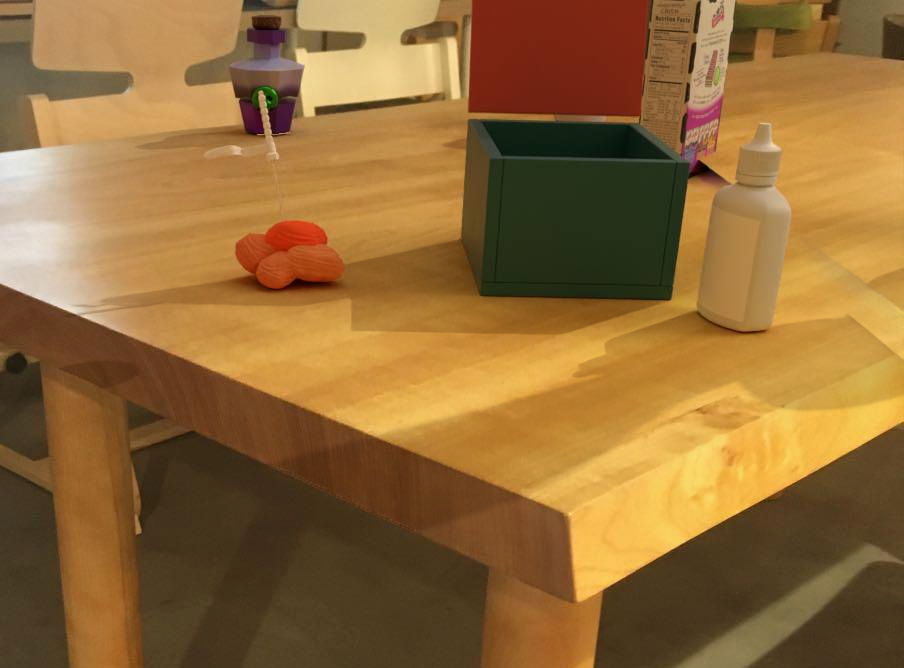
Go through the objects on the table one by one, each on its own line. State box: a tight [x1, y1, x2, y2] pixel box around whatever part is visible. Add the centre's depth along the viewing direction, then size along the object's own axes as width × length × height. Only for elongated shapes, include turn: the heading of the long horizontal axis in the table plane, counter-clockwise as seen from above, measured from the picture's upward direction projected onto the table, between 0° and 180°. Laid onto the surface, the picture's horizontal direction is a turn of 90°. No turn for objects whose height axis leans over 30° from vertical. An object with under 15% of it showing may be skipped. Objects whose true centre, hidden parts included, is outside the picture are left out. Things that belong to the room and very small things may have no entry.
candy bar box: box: [638, 0, 737, 178], centre depth 119 cm, size 11×5×16 cm, turn 148°
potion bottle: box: [228, 14, 305, 136], centre depth 135 cm, size 9×9×12 cm
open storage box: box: [460, 118, 691, 300], centre depth 88 cm, size 16×13×9 cm
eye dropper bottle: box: [696, 122, 792, 333], centre depth 76 cm, size 4×6×12 cm
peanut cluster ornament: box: [203, 91, 346, 290], centre depth 82 cm, size 6×10×12 cm, turn 75°
